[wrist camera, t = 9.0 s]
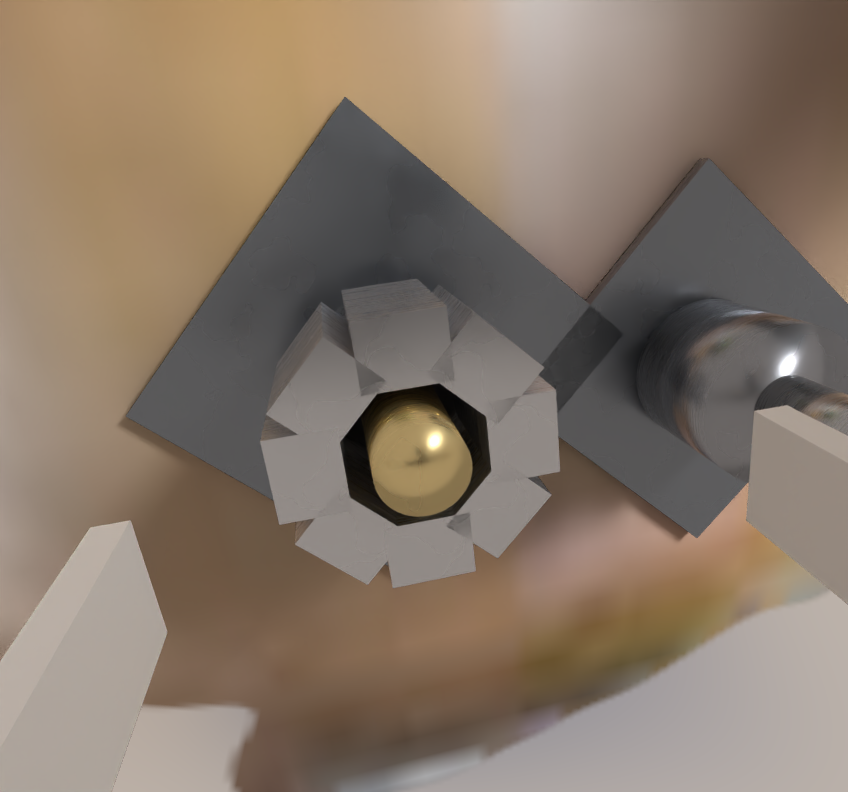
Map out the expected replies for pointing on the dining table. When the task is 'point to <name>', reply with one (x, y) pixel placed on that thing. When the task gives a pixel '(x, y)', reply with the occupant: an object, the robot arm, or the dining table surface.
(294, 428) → the ring
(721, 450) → the stand
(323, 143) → the hub
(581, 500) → the dining table surface
